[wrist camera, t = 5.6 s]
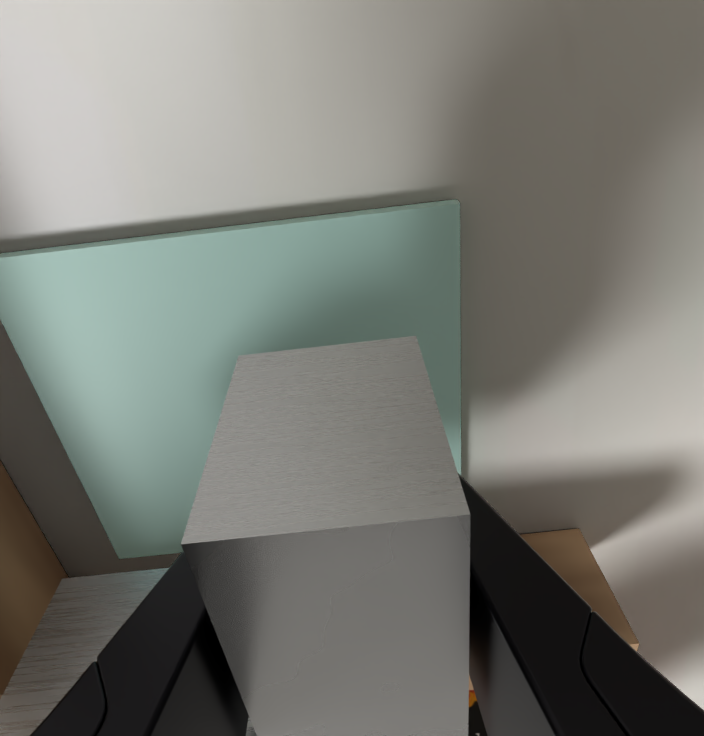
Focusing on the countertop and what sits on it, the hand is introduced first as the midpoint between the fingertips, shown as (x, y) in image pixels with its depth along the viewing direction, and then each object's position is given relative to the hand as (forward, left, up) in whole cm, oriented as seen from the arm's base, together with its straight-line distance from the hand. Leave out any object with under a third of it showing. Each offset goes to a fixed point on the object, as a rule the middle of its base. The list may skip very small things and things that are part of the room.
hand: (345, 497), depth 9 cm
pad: (-2, -1, -5) cm, 6 cm away
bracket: (-2, -1, -1) cm, 3 cm away
